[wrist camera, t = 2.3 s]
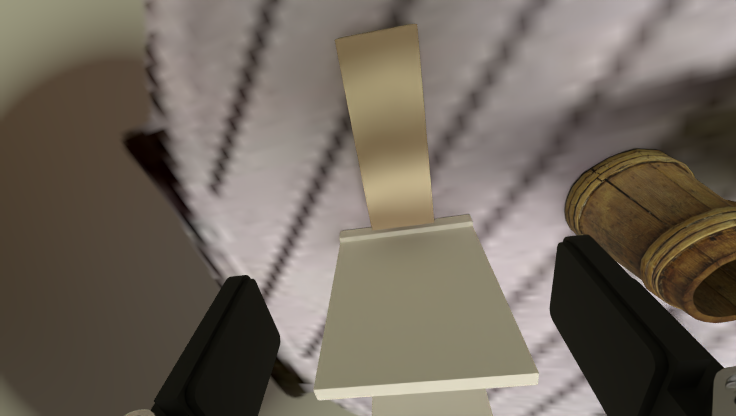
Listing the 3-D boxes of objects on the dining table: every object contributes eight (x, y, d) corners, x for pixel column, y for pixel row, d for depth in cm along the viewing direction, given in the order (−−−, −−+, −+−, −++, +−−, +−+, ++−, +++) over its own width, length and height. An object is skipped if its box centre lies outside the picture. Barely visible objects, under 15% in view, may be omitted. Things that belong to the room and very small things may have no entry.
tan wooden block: (341, 37, 24) (334, 40, 20) (411, 23, 23) (417, 24, 19) (373, 206, 30) (372, 230, 27) (427, 199, 30) (434, 222, 26)
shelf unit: (340, 231, 31) (311, 384, 18) (469, 214, 30) (539, 367, 17) (375, 364, 41) (372, 528, 28) (473, 356, 39) (520, 524, 26)
